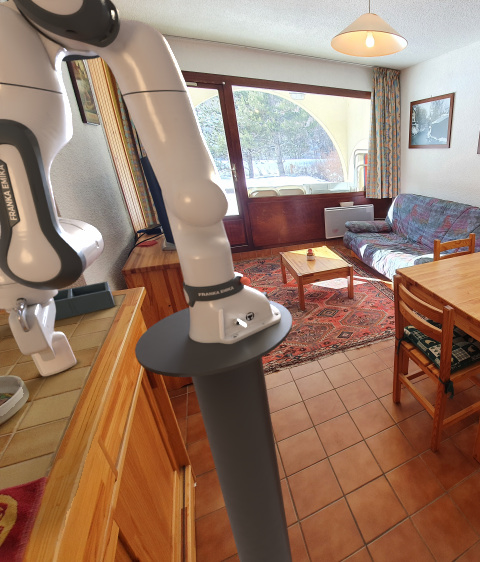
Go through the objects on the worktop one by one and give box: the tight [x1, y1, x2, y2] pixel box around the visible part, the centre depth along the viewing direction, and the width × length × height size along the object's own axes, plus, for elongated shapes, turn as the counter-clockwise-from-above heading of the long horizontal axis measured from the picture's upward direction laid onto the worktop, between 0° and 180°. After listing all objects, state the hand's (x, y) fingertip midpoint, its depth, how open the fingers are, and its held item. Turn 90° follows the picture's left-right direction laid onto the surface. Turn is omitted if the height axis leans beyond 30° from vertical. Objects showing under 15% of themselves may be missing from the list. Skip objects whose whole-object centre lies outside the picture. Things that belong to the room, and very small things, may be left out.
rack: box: [53, 281, 116, 321], centre depth 89 cm, size 17×9×5 cm, turn 131°
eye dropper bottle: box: [30, 331, 77, 377], centre depth 64 cm, size 4×6×12 cm
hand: (51, 351), depth 64 cm, fingers open, 5 cm apart
